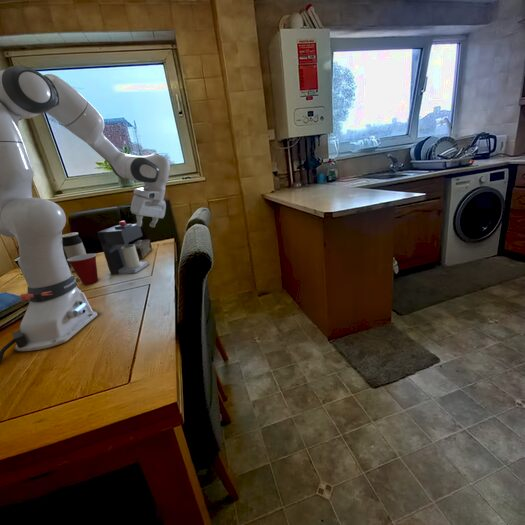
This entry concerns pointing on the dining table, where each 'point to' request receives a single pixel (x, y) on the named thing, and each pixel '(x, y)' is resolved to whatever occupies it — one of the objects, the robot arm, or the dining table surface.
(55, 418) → the dining table surface
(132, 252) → the creamer cup
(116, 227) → the coffee maker
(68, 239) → the travel mug
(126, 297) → the dining table surface
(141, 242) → the beverage carton
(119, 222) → the brew button
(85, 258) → the plastic cup
